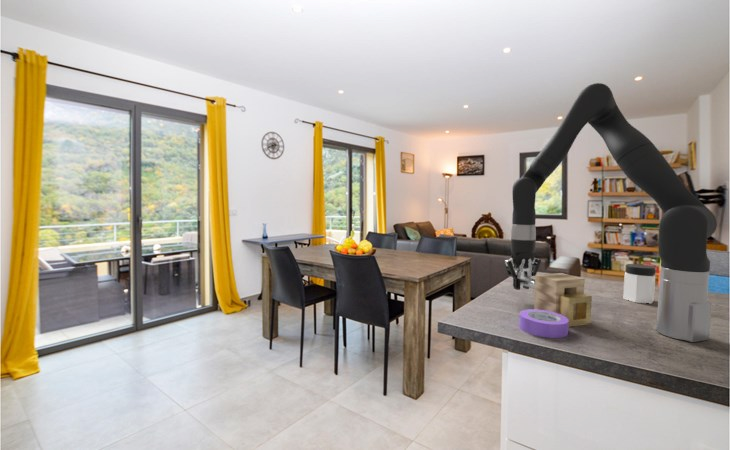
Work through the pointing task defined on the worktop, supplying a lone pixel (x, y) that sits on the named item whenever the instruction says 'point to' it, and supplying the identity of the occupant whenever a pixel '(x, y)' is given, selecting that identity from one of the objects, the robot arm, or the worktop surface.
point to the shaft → (530, 283)
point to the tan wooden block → (555, 290)
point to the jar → (639, 283)
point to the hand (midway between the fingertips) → (521, 288)
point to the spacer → (582, 308)
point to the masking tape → (543, 323)
